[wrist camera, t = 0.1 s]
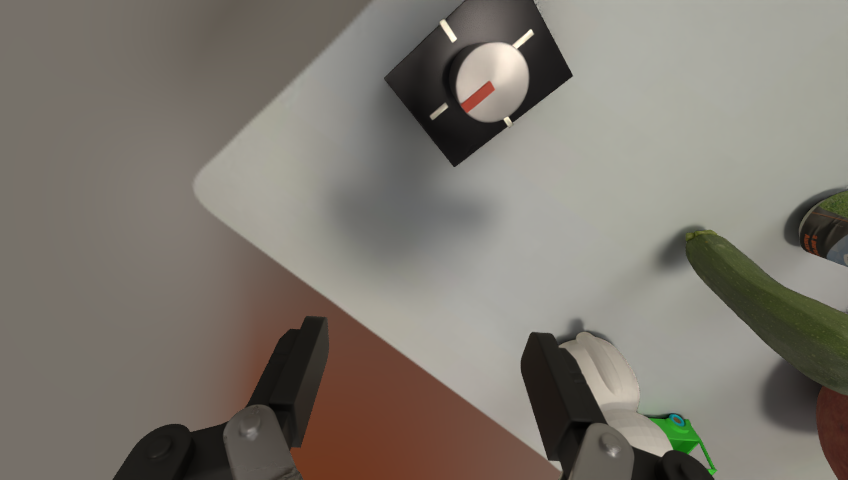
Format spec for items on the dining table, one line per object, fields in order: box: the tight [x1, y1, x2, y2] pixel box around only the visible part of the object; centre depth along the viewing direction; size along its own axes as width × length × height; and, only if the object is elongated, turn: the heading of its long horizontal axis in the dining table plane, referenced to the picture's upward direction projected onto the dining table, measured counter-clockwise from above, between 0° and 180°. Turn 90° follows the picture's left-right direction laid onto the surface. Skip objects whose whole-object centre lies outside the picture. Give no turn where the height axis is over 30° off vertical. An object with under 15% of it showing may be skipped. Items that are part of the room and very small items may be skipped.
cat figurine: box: [559, 332, 673, 457], centre depth 33 cm, size 9×12×15 cm
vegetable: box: [686, 230, 848, 396], centre depth 23 cm, size 4×4×20 cm
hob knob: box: [449, 41, 529, 122], centre depth 20 cm, size 4×4×5 cm
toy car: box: [649, 414, 717, 475], centre depth 44 cm, size 11×7×7 cm, turn 84°
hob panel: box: [384, 0, 573, 167], centre depth 23 cm, size 10×8×3 cm
